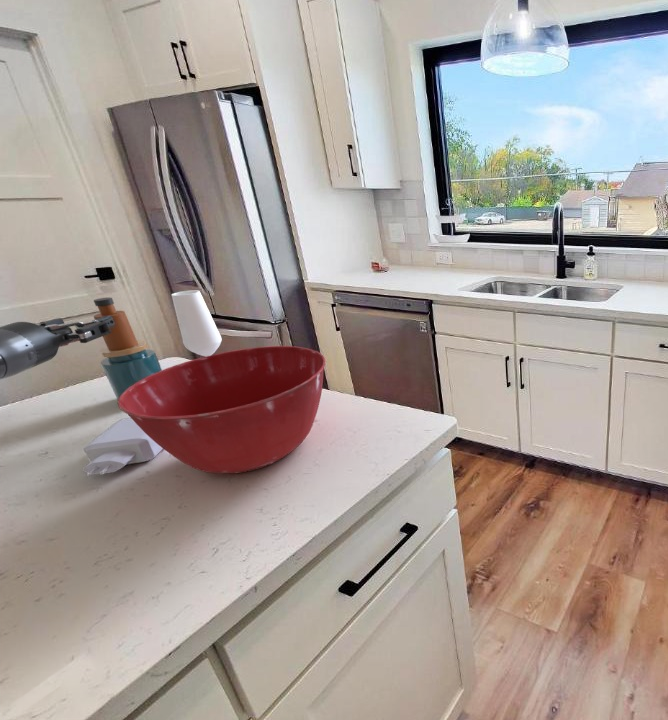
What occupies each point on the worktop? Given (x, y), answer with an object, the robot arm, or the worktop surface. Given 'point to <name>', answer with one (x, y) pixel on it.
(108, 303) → the amber bottle
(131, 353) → the teal jar
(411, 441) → the worktop surface
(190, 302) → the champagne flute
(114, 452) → the charger
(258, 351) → the mixing bowl
